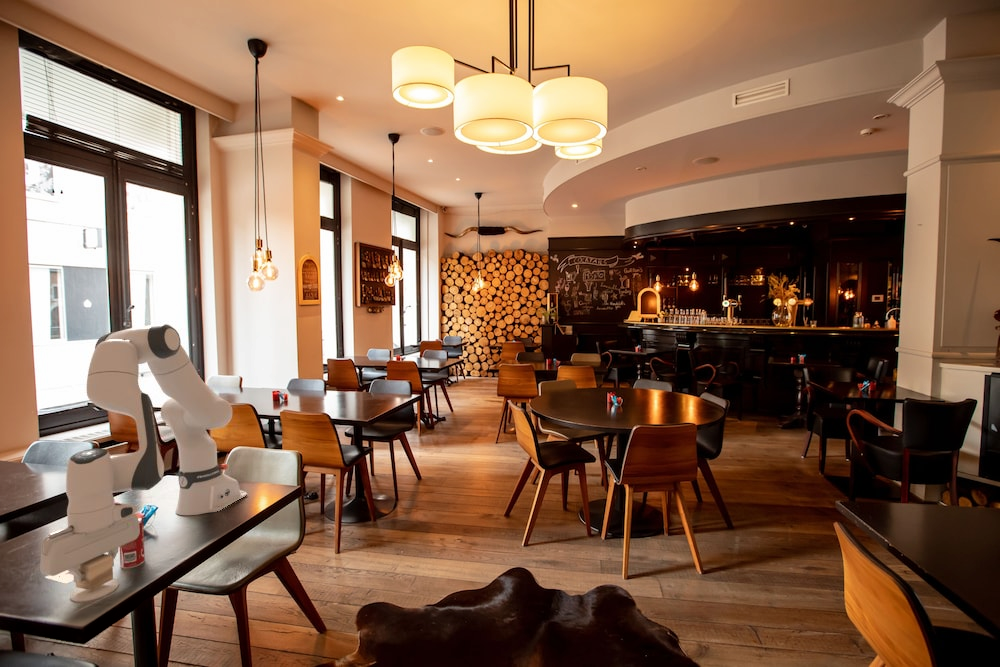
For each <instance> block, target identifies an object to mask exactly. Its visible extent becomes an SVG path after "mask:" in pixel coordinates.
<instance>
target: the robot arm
mask: <svg viewBox="0 0 1000 667" xmlns="http://www.w3.org/2000/svg"><path fill="white" fill-rule="evenodd" d="M181 344H182V343H181V337H180V334H179V333H178V331H177V329H175V328H174V327H173V326H171V325H169V324H168V323H167V324H166V323H155V324H153V325H139V326H134V327H133V326H132V327H130V328H125V329H122V330H119V331H112V332H108V333H106V334H103V335H102V336H100V337H99V338H98V340H97V341H96V343H95V346H94V351H93V353H92V356H91V358H90V363H89V367H88V370H87V372H88V374H87V379H86V396H87V398H88V399H89V401H90V402H91V403H92V404H93V405H95V406H96V407H99V408H100V409H102V410H105V411H108V412H112V413H117V414H121V415H125V416H128V417H130V418H132V419H134V421H135V425H136V432H137V439H138V446H139V448H138V450H137V451H134V452H128V453H117V454H110V452H109V450H108V449H105V448H89V449H85V450H82V451H78V452H76V453H74V454H73V455H71V456H70V457H69V459H68V462H67V466H66V476H65V477H66V479H65V493H66V496H67V499H68V505H67V508H66V514H67V515H66V516H67V527H65V528H62V529H60V530H58V531H55V532H52V533H49V534H48V535H47V536H46V537H45V538H44V539H43V540H42V541H41V543H40V553H41V555H40V563H39V571H40V573H41V574H43V575H45V576H55V575H57V574H60V573H62V572H64V571H66V570H68V571H69V572H70V573H71V574H72V575H74V581H73V583H75V584H76V583H80V582H82V581H84V580H85V579H86V577H85V576H86V574H85V573H82V572H79V571H78V569H80V564H82V563H84V562H86V561H89V560H91V559H93V558H95V557H97V556H100V555H102V554H107V553H108V554H107V555H112V566H113V567H114V566H115V565H114V564H115V559H116V557H117V555H118V553H119V548H120V546H122V545H124V544H127V543H129V542H131V541H133V540H135V539H137V537H138V536H139V533H140V527H139V519H138V518H139V516H138V515H137V514H136V513H137V511H138V510H137V506H136V505H135V504H131V503H130V504H129V503H120V502H119V503H118V502H116V500H115V497H114V495H113V493H120V492H130V491H135V492H136V491H149V490H151V489H153V488H154V487H155V486H157V485H158V484H159V483H160V482H161V481H162V480H163V478H164V472H165V465H164V460H163V457H162V453H161V449H160V442H159V436H158V430H157V422H156V416H155V411H154V407H153V406H154V405H153V401H152V399H151V397H150V395H149V394H147V393H146V392H143V391H142V390H141V387H140V386H139V373H140V372H139V371H140V370H139V368H140V367H139V366H140V365H142V364H146V363H147V365H148V367H149V370H150V371H151V373H152V375H153V376H154V378H155V380H156V382H157V384H158V385H159V388H160V389H161V391H162V392H163V394H165V395H166V396H168V397H169V399H167V400H166V401H165V402H164V403H163V404H162V406H161V409H160V417H161V419H162V421H163V422H164V423H165V424H166V425H167V426H168V427H169V428H170V430H171V433H172V434H173V436H174V439H175V441H176V445H177V449H178V457H179V469H178V485H179V495H178V500H177V506H176V510H175V513H176V514H177V515H179V516H197V515H202V514H207V513H218V512H221V511H223V510H224V509H226V508H228V507H229V506H228V505H230V504H232V503H233V502H235V501H237V500H239V499H241V498H243V497H245V496H246V495H247V496H248V493H247V492H246V491H244V490H241V489H240V484H239V481H238V480H237V479H235V478H233V477H231V476H229V475H227V474H225V473H224V472H223V471H222V470H224V471H226V470H228V468H229V465H228V464H226V463H221V464H219V463H218V452H217V451H218V450H217V443H216V441H215V440H214V439H213V438H212V437H211V436H210V434H209V433H208V431H207V430H214V429H219V428H223V427H226V426H228V424H229V423H230V421H231V420H232V418H233V407H232V405H231V403H230V402H229V401H227V400H226V399H224V398H223V397H220V396H219V395H218V394H217V393H216V392H214V391H213V390H212V389H211V388H210V386H208V385H207V384H206V382H205V381H203V379H202V378H201V377H200V375H199V374H198V372H197V370H196V368H195V367H194V364H193V362H192V361H191V359H190V357H189V355H188V353H187V351H186V350H185V349H184V347H183V345H181ZM247 496H246V497H247ZM246 497H245V498H246ZM243 499H244V498H243ZM241 500H242V499H241ZM239 501H240V500H239ZM237 502H238V501H237ZM235 503H236V502H235ZM232 505H233V504H232ZM227 506H228V507H227ZM230 506H231V505H230ZM225 507H226V508H225ZM223 508H224V509H223ZM222 509H223V510H222ZM220 510H221V511H220ZM217 511H218V512H217Z"/></svg>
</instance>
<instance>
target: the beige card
mask: <svg viewBox="0 0 1000 667" xmlns="http://www.w3.org/2000/svg"><path fill="white" fill-rule="evenodd" d="M59 576H60V577H59ZM44 577H45V579H48V580H51V581H54V582H58V583H61V584H66V585H67V584H69V583H72V582H74V575H72V574H71V573H70V572H69V571H68V570H66V571H64V572H62V573H60V574H57V575H55V576H49V575H45V576H44Z"/></svg>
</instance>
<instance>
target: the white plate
mask: <svg viewBox="0 0 1000 667" xmlns="http://www.w3.org/2000/svg"><path fill="white" fill-rule="evenodd" d="M119 583H120V582H119V579H116V578H113V580H111V581H109V582H107V583H105V584H103V585H101V586H99V587H97V588H95V589H93V590H87V589H82V588H77V587H76V588H75V589H74V590H72V592H71V593H70V600H71V601H72V602H75V603H76V602H77V603H78V602H79V603H83V602H88V601H94V600H96V599H100V598H103V597H105V596H107V595H109V594H111V593H112V592H114V591H115V590H117V589H118V588H119V586H118V585H120V584H119Z"/></svg>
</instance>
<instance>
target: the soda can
mask: <svg viewBox="0 0 1000 667" xmlns="http://www.w3.org/2000/svg"><path fill="white" fill-rule="evenodd" d="M138 519H139V527H140V533H139V536H138V537H137V539H135V540H133V541H131V542H129V543H127V544H124V545H122V546H120V547H119V558H120V559H119V561H120V563H119V564H120V567H121V569H125V570H126V569H127V570H128V569H132V568H136V567H138V566H141V565H142V564H144V562H145V554H146V553H145V535H144V534H145V533H144V530H145V529H144V522H143V521H142V520H143V519H142V518H141V517H138Z"/></svg>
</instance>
